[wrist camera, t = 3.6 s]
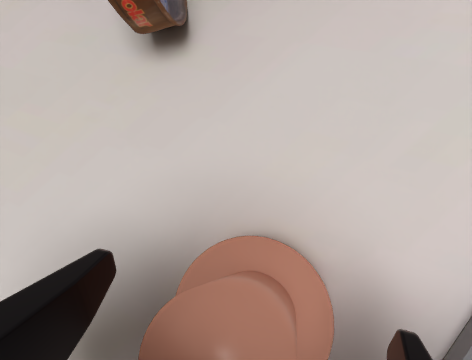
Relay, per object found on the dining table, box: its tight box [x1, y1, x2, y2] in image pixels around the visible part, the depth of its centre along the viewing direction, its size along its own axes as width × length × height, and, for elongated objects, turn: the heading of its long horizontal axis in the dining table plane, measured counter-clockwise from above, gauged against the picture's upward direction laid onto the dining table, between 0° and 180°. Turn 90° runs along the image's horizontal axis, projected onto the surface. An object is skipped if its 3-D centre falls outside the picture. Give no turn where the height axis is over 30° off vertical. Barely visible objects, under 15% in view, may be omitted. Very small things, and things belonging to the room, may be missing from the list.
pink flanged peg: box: [138, 236, 334, 360], centre depth 12 cm, size 6×6×9 cm
